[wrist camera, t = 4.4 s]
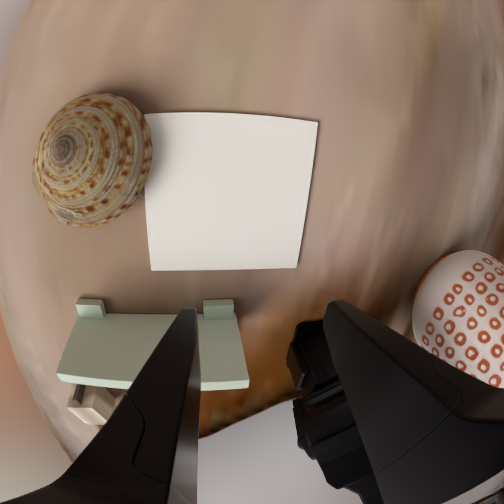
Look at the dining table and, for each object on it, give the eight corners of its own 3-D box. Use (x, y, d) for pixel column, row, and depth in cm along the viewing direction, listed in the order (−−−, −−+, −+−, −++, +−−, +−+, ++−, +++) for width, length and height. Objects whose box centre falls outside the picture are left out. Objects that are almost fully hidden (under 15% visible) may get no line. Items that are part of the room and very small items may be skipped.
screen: (236, 298, 22) (251, 366, 16) (234, 333, 24) (246, 398, 18) (75, 298, 19) (47, 359, 13) (87, 332, 21) (68, 392, 15)
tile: (316, 122, 16) (318, 122, 16) (295, 265, 21) (296, 267, 21) (145, 114, 14) (144, 114, 14) (152, 268, 19) (151, 270, 19)
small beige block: (93, 374, 24) (86, 403, 21) (115, 397, 27) (111, 424, 23) (68, 376, 24) (61, 402, 21) (91, 398, 27) (86, 423, 23)
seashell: (12, 200, 13) (22, 97, 8) (58, 160, 17) (86, 72, 12) (98, 265, 15) (137, 173, 11) (134, 213, 19) (182, 131, 15)
